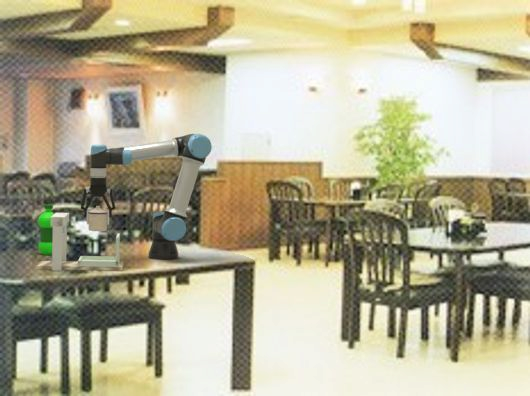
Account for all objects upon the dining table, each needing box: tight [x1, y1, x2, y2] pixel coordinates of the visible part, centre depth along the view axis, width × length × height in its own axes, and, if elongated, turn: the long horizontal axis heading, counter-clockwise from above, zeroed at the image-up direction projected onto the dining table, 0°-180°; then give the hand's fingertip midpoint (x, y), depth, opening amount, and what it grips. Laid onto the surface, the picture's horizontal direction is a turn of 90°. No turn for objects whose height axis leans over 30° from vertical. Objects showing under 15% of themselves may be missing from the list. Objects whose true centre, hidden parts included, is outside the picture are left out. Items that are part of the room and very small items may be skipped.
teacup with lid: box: [85, 205, 108, 232], centre depth 450 cm, size 12×9×12 cm
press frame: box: [51, 212, 70, 272], centre depth 432 cm, size 6×24×24 cm, turn 7°
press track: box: [36, 260, 125, 272], centre depth 434 cm, size 38×17×2 cm, turn 97°
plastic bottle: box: [37, 204, 55, 256], centre depth 475 cm, size 10×10×25 cm
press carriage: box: [77, 232, 121, 267], centre depth 435 cm, size 18×17×14 cm
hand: (98, 224), depth 450 cm, fingers closed on teacup with lid, 9 cm apart
